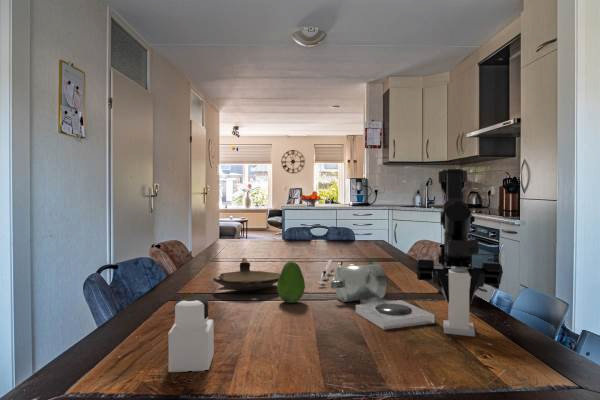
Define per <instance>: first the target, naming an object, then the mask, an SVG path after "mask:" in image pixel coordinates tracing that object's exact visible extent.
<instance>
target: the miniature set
mask: <svg viewBox="0 0 600 400" xmlns="http://www.w3.org/2000/svg"><path fill="white" fill-rule="evenodd" d="M328 259H329V258H327V259H326V262H327V263H326V264H325V270H324V269H323V270H322V272H321V276H320V279H319V280H320V281H317V285H320V286H321V285H324V286H326V285H327V282H325V281H323V280H324V277H326V276H327V275H328V274H329V272H330V271H329V268H331V267H330V266H331V264H334V262H333V261H332V258H330V259H329V260H328ZM343 263H344V262H343V261H341V262H338V263H337V264H336V265H337V266H338V267H343ZM348 266H356V265H355V263H354V264H352V263H351V264H350V263H349V265H348ZM327 270H328V271H327ZM334 277H335V276H332V281H331V282H333V281H334Z"/></svg>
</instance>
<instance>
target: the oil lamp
mask: <svg viewBox="0 0 600 400" xmlns="http://www.w3.org/2000/svg"><path fill="white" fill-rule="evenodd" d="M250 268H251V263H250V262H248V259H247V258H246V257H242V259H241V262H239V271H229V272H222V273H220V274H219V276H218V277H217V278H215V277H213V279H212V280H213V281H214V282H215V283H217V284H219V285H221V286H223V287H226V288H228V289H230V290H235V291H239V292H243V291H244V292H249V291H260V290H263V289H266V288H268V287H270V286H272V285H275V284H276V283H278V279H279V276H280V274H281V273H279V272H272V271H271V272H270V271H259V270H251V269H250Z"/></svg>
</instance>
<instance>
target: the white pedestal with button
mask: <svg viewBox="0 0 600 400" xmlns="http://www.w3.org/2000/svg"><path fill="white" fill-rule="evenodd" d="M469 290H470V276H469V272H468V270H466V267H464V266H451V269H449V303H448V319H446V320H445V319H443V324H442V325H443V333H444V334H448V335H449V334H450V335H456V336H467V337H476V331H475V326H474V323H473V322H470V305H469Z"/></svg>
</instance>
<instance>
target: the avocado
mask: <svg viewBox="0 0 600 400" xmlns="http://www.w3.org/2000/svg"><path fill="white" fill-rule="evenodd" d="M280 271H281V272H280V273H279V274H280V276H279V279H278V282H276V283H277V285H276V286H277V287H276V291H277V295H278V296H279V298H280V299H281V300H282V301H283V302H284V303H287V304H292V303H293V304H294V303H297V302H299V300H300V299H302V297H303V295H304V293H305V289H306V284H305V278H304V276H303V275H304V274H303V272H302V270H301V268H300V266H299V265H298V263H296V262H294V261H291V260H290V261H287V262H286V263H284V265H283V267H282V269H281V270H280Z"/></svg>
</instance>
